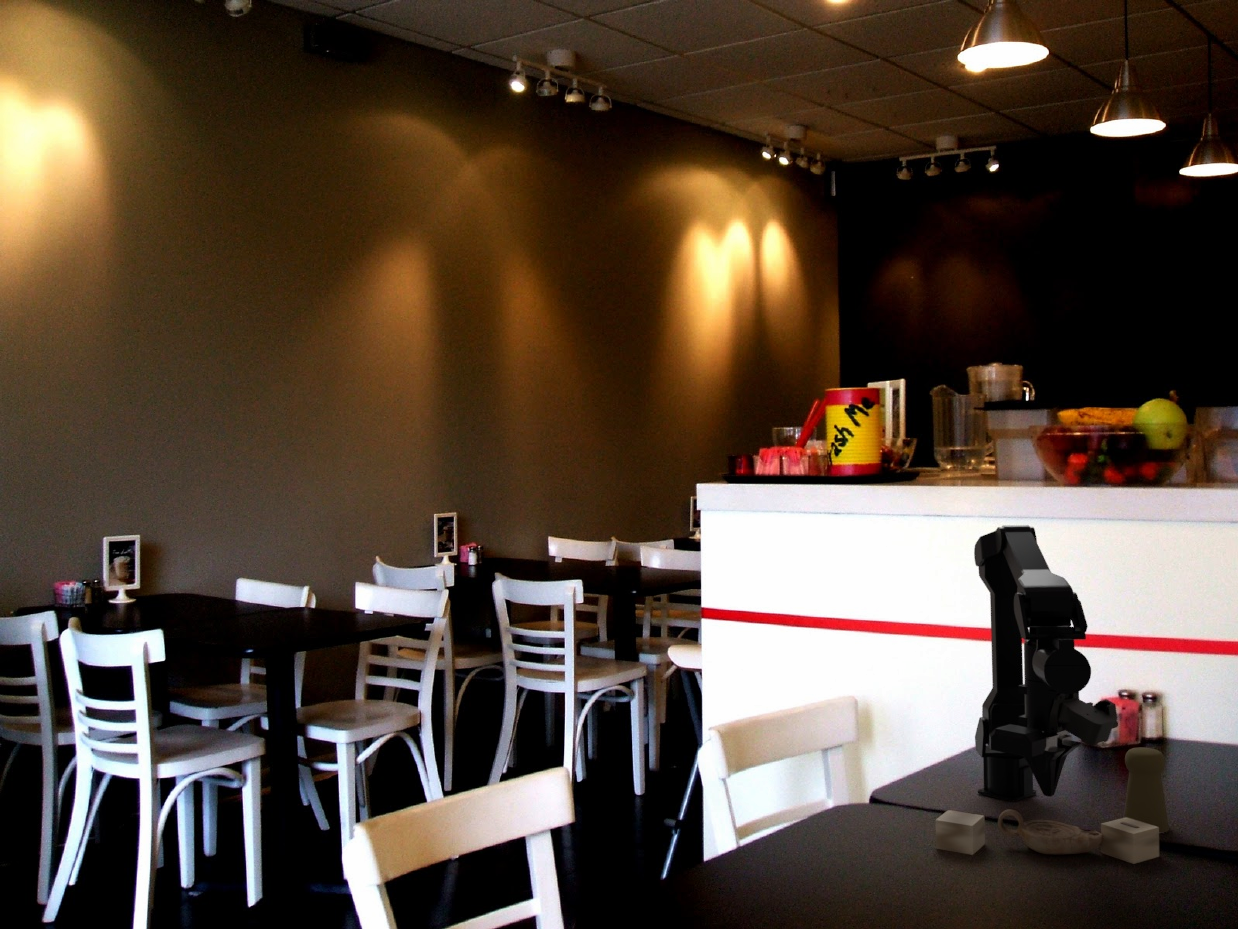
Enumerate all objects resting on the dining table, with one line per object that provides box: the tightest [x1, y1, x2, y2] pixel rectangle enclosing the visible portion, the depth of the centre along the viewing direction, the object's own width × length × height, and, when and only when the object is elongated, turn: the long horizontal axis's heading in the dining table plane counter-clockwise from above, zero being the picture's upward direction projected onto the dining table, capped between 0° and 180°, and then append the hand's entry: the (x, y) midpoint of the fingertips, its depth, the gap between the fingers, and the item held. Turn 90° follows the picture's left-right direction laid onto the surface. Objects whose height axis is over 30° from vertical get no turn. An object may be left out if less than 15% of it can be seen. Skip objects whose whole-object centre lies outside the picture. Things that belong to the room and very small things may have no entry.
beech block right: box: [1100, 817, 1160, 865], centre depth 162 cm, size 5×5×4 cm
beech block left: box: [935, 809, 986, 856], centre depth 167 cm, size 5×5×4 cm
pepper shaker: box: [1123, 746, 1170, 833], centre depth 173 cm, size 6×6×11 cm
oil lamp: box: [997, 808, 1103, 856], centre depth 164 cm, size 13×8×5 cm, turn 65°
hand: (1048, 795), depth 164 cm, fingers closed
